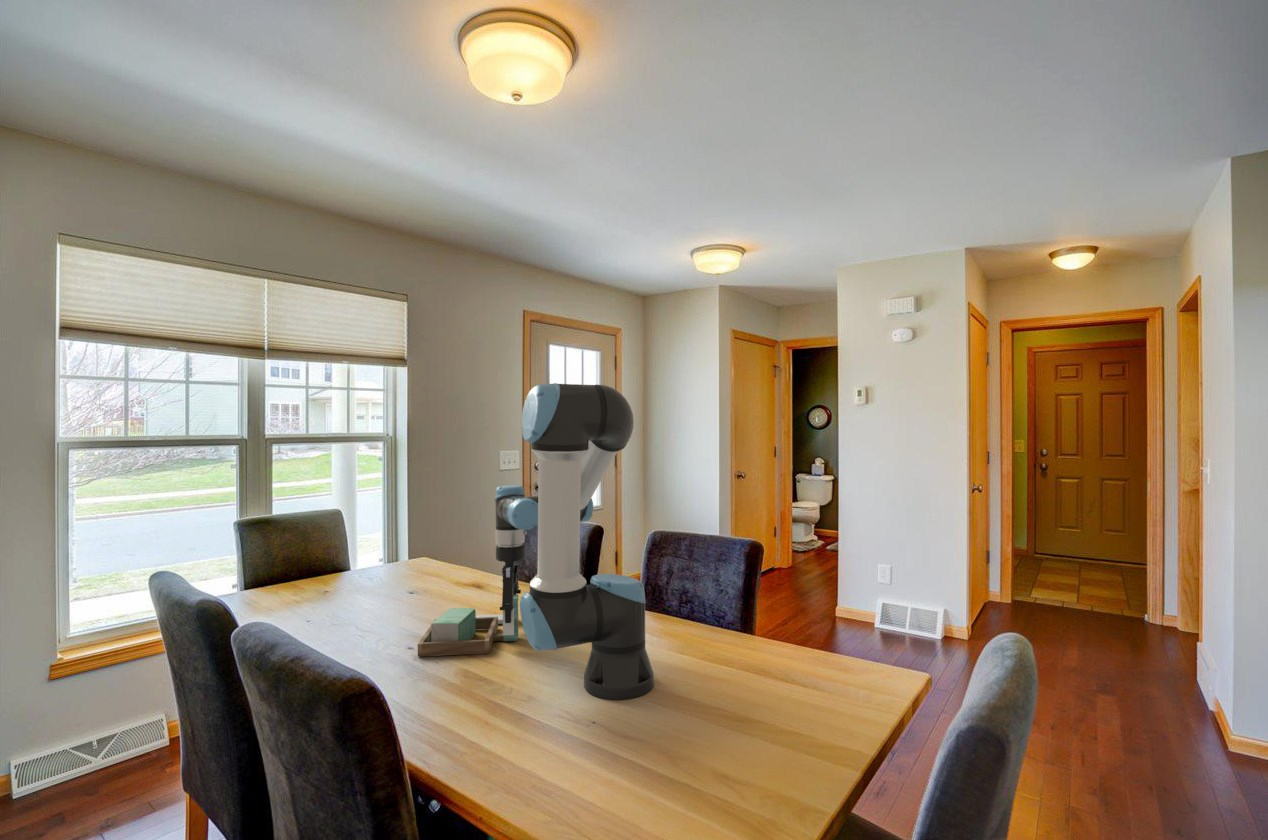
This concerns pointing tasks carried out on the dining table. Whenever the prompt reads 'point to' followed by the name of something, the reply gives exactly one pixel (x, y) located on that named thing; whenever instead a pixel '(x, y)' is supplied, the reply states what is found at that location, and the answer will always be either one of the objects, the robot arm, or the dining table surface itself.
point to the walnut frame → (469, 645)
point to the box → (454, 625)
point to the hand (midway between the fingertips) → (511, 626)
